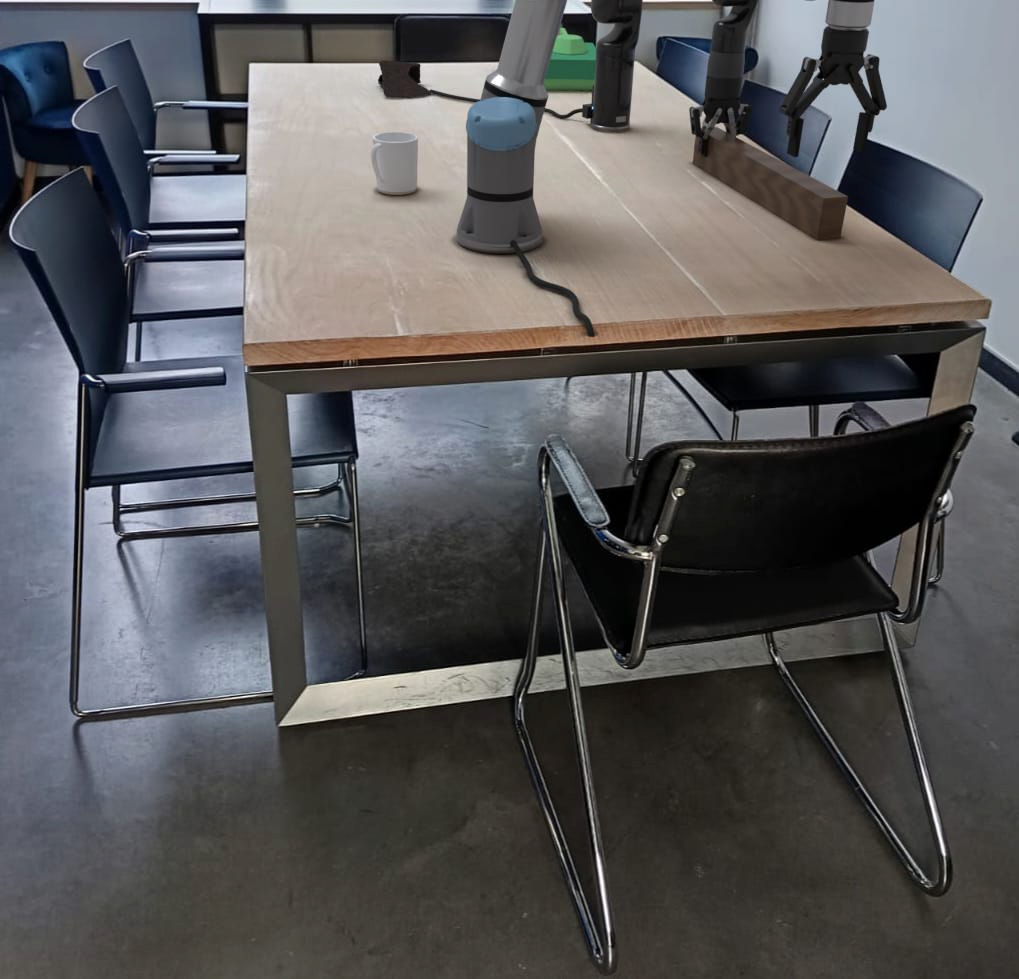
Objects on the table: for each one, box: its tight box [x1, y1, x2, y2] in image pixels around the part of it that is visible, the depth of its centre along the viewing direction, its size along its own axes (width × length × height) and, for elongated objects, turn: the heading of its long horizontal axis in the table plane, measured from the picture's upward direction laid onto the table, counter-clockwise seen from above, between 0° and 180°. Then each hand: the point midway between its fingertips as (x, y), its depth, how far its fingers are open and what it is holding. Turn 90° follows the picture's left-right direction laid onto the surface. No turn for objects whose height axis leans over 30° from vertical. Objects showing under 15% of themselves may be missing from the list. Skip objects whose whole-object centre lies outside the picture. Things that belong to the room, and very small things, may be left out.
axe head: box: [377, 59, 433, 99], centre depth 299 cm, size 18×8×15 cm
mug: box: [370, 131, 419, 196], centre depth 218 cm, size 11×9×10 cm
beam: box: [692, 126, 849, 241], centre depth 220 cm, size 53×5×8 cm, turn 17°
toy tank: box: [543, 27, 596, 91], centre depth 315 cm, size 18×12×35 cm
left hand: (825, 153), depth 197 cm, fingers open, 13 cm apart
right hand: (715, 155), depth 237 cm, fingers closed on beam, 5 cm apart
